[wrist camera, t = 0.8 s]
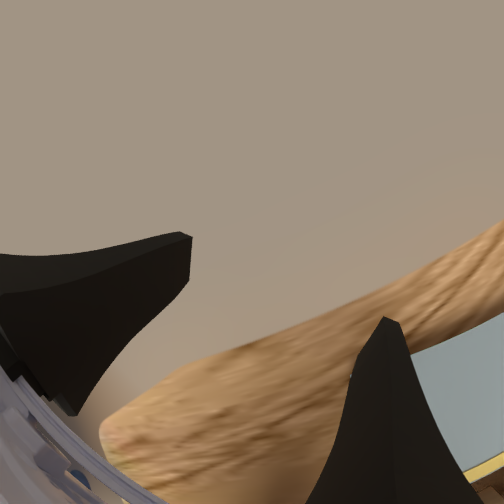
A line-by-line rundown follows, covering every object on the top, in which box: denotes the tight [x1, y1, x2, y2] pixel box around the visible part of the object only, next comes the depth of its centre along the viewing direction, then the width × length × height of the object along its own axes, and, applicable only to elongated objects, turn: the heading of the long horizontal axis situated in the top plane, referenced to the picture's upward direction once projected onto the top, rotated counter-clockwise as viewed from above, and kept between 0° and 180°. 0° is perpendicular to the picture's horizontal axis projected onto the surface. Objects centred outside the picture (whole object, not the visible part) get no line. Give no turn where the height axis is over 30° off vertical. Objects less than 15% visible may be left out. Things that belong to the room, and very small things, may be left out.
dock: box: [350, 312, 504, 484], centre depth 13 cm, size 12×18×2 cm, turn 100°
